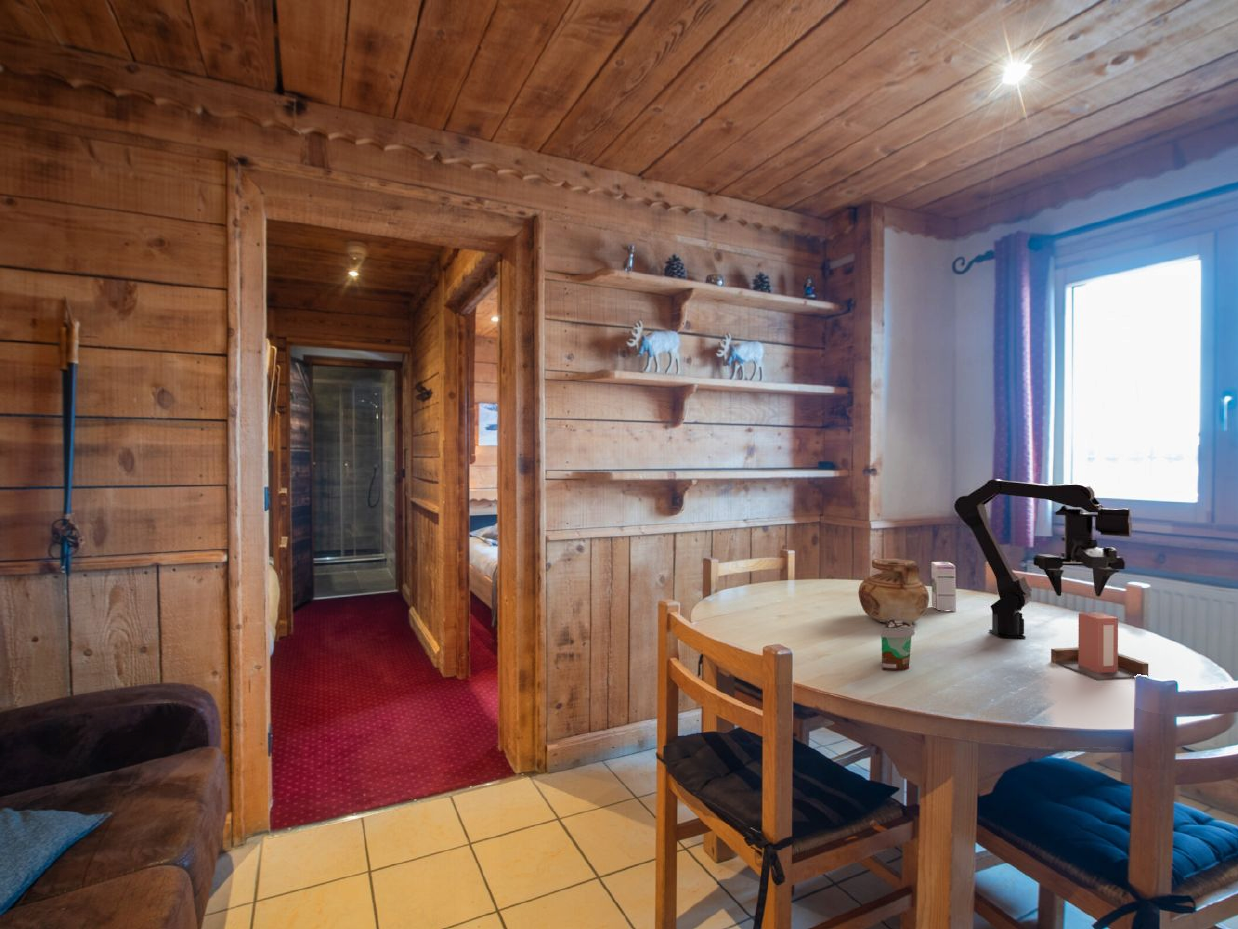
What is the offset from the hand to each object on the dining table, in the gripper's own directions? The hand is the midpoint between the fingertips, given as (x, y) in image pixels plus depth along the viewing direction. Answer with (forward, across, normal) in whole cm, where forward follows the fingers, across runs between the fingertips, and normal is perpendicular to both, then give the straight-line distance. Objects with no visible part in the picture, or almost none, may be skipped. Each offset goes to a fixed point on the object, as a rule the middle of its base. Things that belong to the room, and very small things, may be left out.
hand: (1078, 596), depth 159 cm
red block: (+13, -6, -17) cm, 22 cm away
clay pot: (+13, -37, +24) cm, 46 cm away
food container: (+13, -49, -17) cm, 53 cm away
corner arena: (+13, -6, -17) cm, 22 cm away
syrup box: (+13, -17, +38) cm, 44 cm away
